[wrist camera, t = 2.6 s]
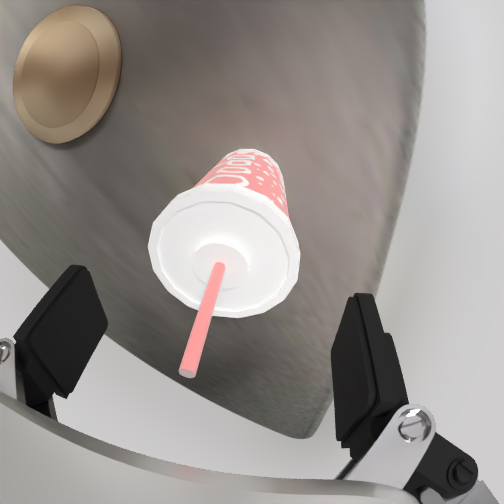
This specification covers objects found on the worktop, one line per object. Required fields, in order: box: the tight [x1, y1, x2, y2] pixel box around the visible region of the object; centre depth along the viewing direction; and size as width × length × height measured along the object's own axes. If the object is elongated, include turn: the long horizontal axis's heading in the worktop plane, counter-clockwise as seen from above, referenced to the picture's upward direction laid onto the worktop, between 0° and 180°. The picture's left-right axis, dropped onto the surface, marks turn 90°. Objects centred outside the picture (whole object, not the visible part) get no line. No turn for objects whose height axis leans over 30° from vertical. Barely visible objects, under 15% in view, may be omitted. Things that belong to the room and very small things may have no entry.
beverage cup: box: [148, 149, 300, 378], centre depth 13 cm, size 6×6×14 cm
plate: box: [13, 5, 122, 144], centre depth 14 cm, size 11×11×1 cm
